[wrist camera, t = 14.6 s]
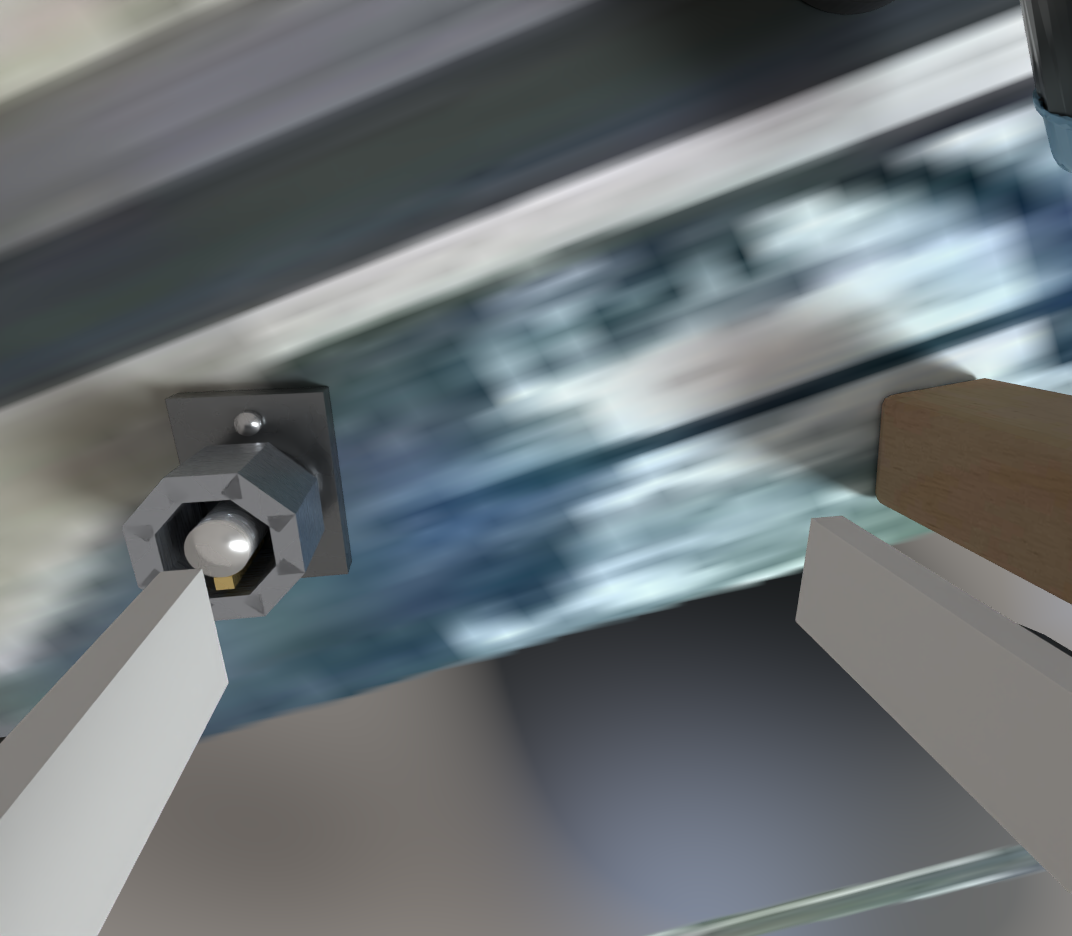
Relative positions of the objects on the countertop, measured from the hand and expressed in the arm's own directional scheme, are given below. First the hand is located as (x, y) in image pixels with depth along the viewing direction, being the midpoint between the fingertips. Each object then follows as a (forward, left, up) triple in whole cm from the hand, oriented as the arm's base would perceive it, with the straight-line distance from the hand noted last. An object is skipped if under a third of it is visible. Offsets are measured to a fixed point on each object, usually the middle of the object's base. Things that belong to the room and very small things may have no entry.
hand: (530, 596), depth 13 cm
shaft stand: (+8, -15, -32) cm, 36 cm away
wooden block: (+8, +39, -32) cm, 51 cm away
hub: (+8, -15, -27) cm, 32 cm away
